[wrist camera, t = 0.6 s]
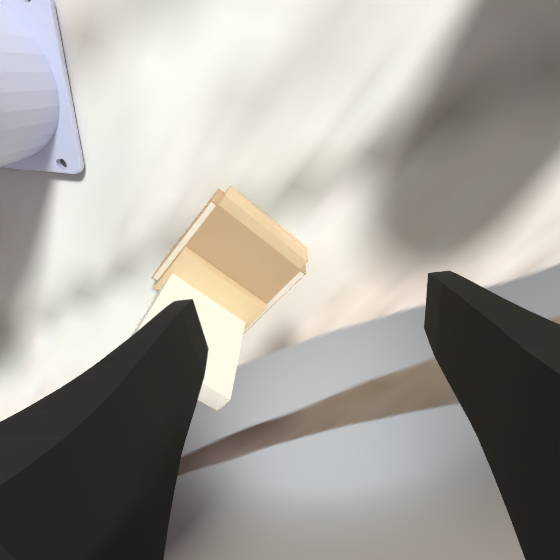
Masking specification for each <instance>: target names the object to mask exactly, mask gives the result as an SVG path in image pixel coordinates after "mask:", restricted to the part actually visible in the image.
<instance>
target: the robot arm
mask: <svg viewBox="0 0 560 560" xmlns="http://www.w3.org/2000/svg"><path fill="white" fill-rule="evenodd" d="M61 159H63V160H64V161H65V162H66V164H67V167H64V166H63V165H62V164H61ZM0 167H4V168H14V169H24V170H35V171H45V172H56V173H66V174H78V173H80V172H81V171H83V169H84V161H83V156H82V150H81V145H80V139H79V134H78V129H77V123H76V118H75V112H74V107H73V102H72V96H71V91H70V85H69V80H68V74H67V69H66V64H65V58H64V53H63V47H62V42H61V36H60V31H59V26H58V20H57V15H56V9H55V4H54V0H31V1H30V2H28V1H27V0H0ZM424 329H425V332H426V334H427V337H428V340H429V343H430V346H431V348H432V351H433V353H434V356H435V358H436V360H437V362H438V364H439V366H440V367H441V369H442V371H443V373H444V375H445V377H446V379H447V380H448V382H449V384H450V386H451V388H452V390H453V391H454V393H455V395H456V397H457V399H458V401H459V402H460V404H461V406H462V408H463V410H464V411H465V413H466V415H467V417H468V419H469V421H470V423H471V425H472V427H473V429H474V431H475V433H476V435H477V437H478V439H479V441H480V443H481V446H482V449H483V451H484V453H485V456H486V458H487V461H488V463H489V465H490V467H491V470H492V472H493V475H494V477H495V480H496V483H497V485H498V487H499V490H500V493H501V495H502V498H503V500H504V503H505V506H506V508H507V511H508V513H509V516H510V519H511V521H512V524H513V527H514V529H515V532H516V535H517V538H518V540H519V543H520V546H521V549H522V551H523V554H524V557H525V559H526V560H560V324H557V323H555V322H553V321H550V320H548V319H546V318H544V317H541V316H539V315H537V314H535V313H532V312H530V311H528V310H526V309H524V308H522V307H520V306H518V305H516V304H514V303H512V302H510V301H508V300H506V299H503V298H502V297H500V296H498V295H496V294H494V293H492V292H490V291H488V290H487V289H485V288H483V287H481V286H479V285H477V284H475V283H473V282H472V281H470V280H468V279H466V278H464V277H462V276H460V275H458V274H456V273H454V272H451V271H443V272H434V273H428V283H427V297H426V311H425V324H424ZM208 350H209V348H208V345H207V342H206V339H205V336H204V333H203V329H202V326H201V323H200V320H199V317H198V314H197V311H196V307H195V304H194V301H193V299H187V300H178V301H173V302H172V303H171V304H169V305H168V306H167V307H165V308H164V309H163V310H162V311H161V312H159V313H158V314H157V315H156V316H155V317H153V318H152V319H151V320H150V321H149V322H148V323H146V324H145V325H144V326H143V327H142V328H141V329H139V330H138V331H137V332H136V333H135V334H133V335H132V336H131V337H130V338H129V339H128V340H126V341H125V342H124V343H122V344H121V345H120V346H119V347H117V348H116V349H115V350H114V351H112V352H111V353H110V354H108V355H107V356H106V357H105V358H103V359H102V360H101V361H99V362H98V363H97V364H95V365H94V366H93V367H91V368H90V369H88V370H87V371H85V372H84V373H83V374H81V375H80V376H78V377H77V378H75V379H74V380H72V381H71V382H69V383H67V384H66V385H64V386H63V387H61V388H60V389H58V390H56V391H55V392H53V393H51V394H49V395H48V396H46V397H44V398H43V399H41V400H39V401H37V402H36V403H34V404H32V405H31V406H29V407H27V408H25V409H24V410H22V411H20V412H18V413H16V414H14V415H13V416H11V417H9V418H7V419H5V420H3V421H1V422H0V560H163V558H164V551H165V544H166V537H167V530H168V523H169V518H170V512H171V507H172V501H173V495H174V489H175V484H176V479H177V474H178V469H179V464H180V459H181V454H182V450H183V446H184V442H185V439H186V436H187V433H188V430H189V426H190V423H191V419H192V416H193V413H194V410H195V407H196V403H197V400H198V397H199V393H200V390H201V387H202V383H203V380H204V376H205V370H206V364H207V357H208Z"/></svg>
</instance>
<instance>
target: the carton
mask: <svg viewBox="0 0 560 560" xmlns="http://www.w3.org/2000/svg"><path fill="white" fill-rule="evenodd" d="M185 246H186V247H187V248H189V249H190V250H192V251H193V252H194V253H196V254H197V255H199V256H200V257H201V258H203V259H204V260H206V261H207V262H208V263H210V264H211V265H213V266H214V267H215V268H217V269H218V270H220V271H221V272H222V273H224V274H225V275H227V276H228V277H229V278H231V279H232V280H234V281H235V282H236V283H238V284H239V285H241V286H242V287H243V288H245V289H246V290H248V291H249V292H250V293H252V294H253V295H255V296H256V297H257V298H259V299H260V300H262V301H263V302H264V303H266V310H265V311H264V312H263V313H262V314H261V315H260V316H259V317H258V318H257V319H255V320H254V321H253V322H252V323H251V324H250V325H249V326H248V327H247V328H246V329H245V330H244V333H245V332H246V331H247V330H248V329H249V328H250V327H252V326H253V325H254V324H255V323H256V322H257V321H258V320H259V319H260V318H261V317H262V316H263V315H264V314H265V313H266V312H267V311H268V310H269V309H270V308H271V307H272V306H273V305H274V304H275V303H276V302H277V301H278V300H279V299H280V298H281V297H282V296H283V295H284V294H285V293H286V292H287V291H289V290H290V289H291V288H292V287H293V286H294V285H295V284H296V283H297V282H298V281H299V280H300V279H301V278H302V277H303V276H304V275H305V274H306V268H305V264H306V263H307V262H308V258H307V247H305V246H304V245H303V244H302V243H300V242H299V241H298V240H297V239H296V238H294V237H293V236H292V235H291V234H289V233H288V232H287V231H286V230H284V229H283V228H282V227H281V226H280V225H278V224H277V223H276V222H275V221H273V220H272V219H271V218H270V217H268V216H267V215H266V214H265V213H263V212H262V211H261V210H260V209H259V208H257V207H256V206H255V205H254V204H252V203H251V202H250V201H249V200H247V199H246V198H245V197H244V196H243V195H241V194H240V193H239V192H238V191H236V190H235V189H234V188H233V187H231V186H230V187H229V189H228V190H227V191H226V192H225V194H224V193H223V192H222V191H221V190H219V189H218V190H217V192H216V193H215V194H214V196H213V197H212V198H211V200H210V201H209V202H208V203H207V205H206V206H205V207H204V209H203V210H202V211H201V213H200V214H199V215H198V216H197V218H196V219H195V220H194V222H193V223H192V224H191V226H190V227H189V228H188V229H187V231H186V232H185V233H184V235H183V236H182V237H181V239H180V240H179V241H178V243H177V244H176V245H175V246H174V248H173V249H172V250H171V252H170V253H169V254H168V256H167V257H166V258H165V259H164V261H163V262H162V264H161V265H160V266H159V268H158V269H157V271H156V272H155V274H154V275H153V276H152V279H154V280H155V281H157V282H158V281H159V280H160V278H161V277H162V276H163V274H164V273H165V272H166V271H167V269H168V268H169V267H170V266H171V264H172V263H173V262H174V260H175V259H176V258H177V257H178V255H179V254H180V253H181V252H182V250H183V249H184V248H185ZM244 333H243V334H244Z"/></svg>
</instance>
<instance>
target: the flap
mask: <svg viewBox="0 0 560 560" xmlns="http://www.w3.org/2000/svg"><path fill="white" fill-rule="evenodd" d="M154 288H155V289H156V290H158V291H159V292H158V294H157V296H156V297H155V299H154V300H153V302H152V304H151V305H150V307H149V308H148V310H147V312H146V313H145V315H144V316H143V318H142V320H141V321H140V323H139V324H138V326H137V328H136V329H135V331H134V333H133V334H135V333H136V332H137V331H138V330H139V329H141V328H142V327H143V326H144V325H145V324H146V323H148V322H149V321H150V320H151V319H152V318H153V317H155V316H156V315H157V314H158V313H159V312H161V311H162V310H163V309H164V308H165V307H167V306H168V305H169V304H171V303H172V302H173V301H178V300H187V299H193V301H194V304H195V307H196V311H197V314H198V317H199V320H200V323H201V326H202V329H203V333H204V336H205V339H206V342H207V345H208V348H209V350H208V357H207V364H206V370H205V376H204V380H203V383H202V387H201V390H200V393H199V397H198V400H199V401H201V402H203V403H204V404H206V405H208V406H210V407H211V408H213V409H215V410H217V411H218V410H219V409H220V408H222V407H223V406H224V405H225V404H226V403H227V402H228V401H230V399H231V395H232V389H233V384H234V379H235V374H236V369H237V364H238V358H239V353H240V348H241V343H242V338H243V333H244V330H245V329H246V328H247V327H248V326H249V325H250V324H251V323H252V322H253V321H254V320H255V319H257V318H258V317H259V316H260V315H261V314H262V313H263V312H264V311H265V310H266V303H264V302H263V301H262V300H260V299H259V298H257V297H256V296H255V295H253V294H252V293H250V292H249V291H248V290H246V289H245V288H243V287H242V286H241V285H239V284H238V283H236V282H235V281H234V280H232V279H231V278H229V277H228V276H227V275H225V274H224V273H222V272H221V271H220V270H218V269H217V268H215V267H214V266H213V265H211V264H210V263H208V262H207V261H206V260H204V259H203V258H201V257H200V256H199V255H197V254H196V253H194V252H193V251H192V250H190V249H189V248H187V247H186V246H185V248H184V249H183V250H182V252H181V253H180V254H179V255H178V257H177V258H176V259H175V260H174V262H173V263H172V264H171V266H170V267H169V268H168V269H167V271H166V272H165V273H164V274H163V276H162V277H161V278H160V280H159V281H158V282H157V284H156V285H155V287H154ZM133 334H132V335H133Z"/></svg>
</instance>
